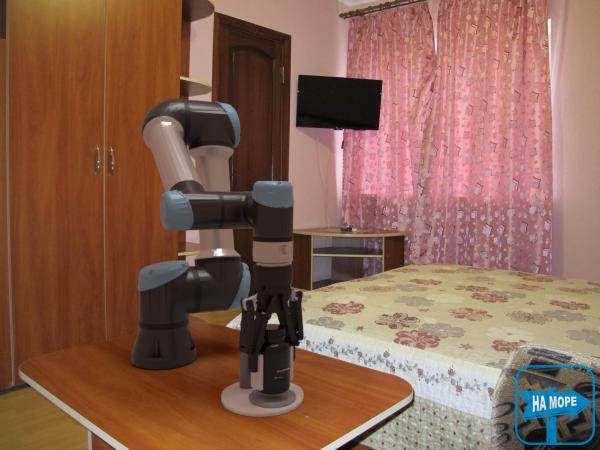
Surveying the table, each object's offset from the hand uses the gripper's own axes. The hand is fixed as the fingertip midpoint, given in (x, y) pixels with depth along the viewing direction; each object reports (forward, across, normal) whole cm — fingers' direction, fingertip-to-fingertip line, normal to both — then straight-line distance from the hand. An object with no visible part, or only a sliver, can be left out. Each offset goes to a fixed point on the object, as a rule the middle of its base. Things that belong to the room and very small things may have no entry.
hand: (272, 382), depth 94 cm
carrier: (+4, 0, +3) cm, 5 cm away
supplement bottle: (+1, 0, 0) cm, 1 cm away
